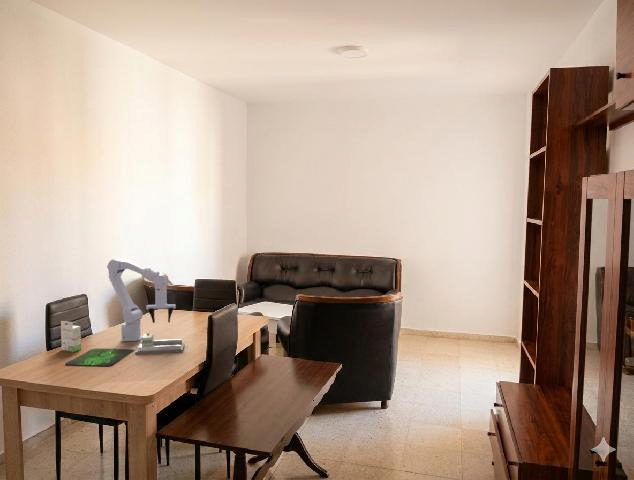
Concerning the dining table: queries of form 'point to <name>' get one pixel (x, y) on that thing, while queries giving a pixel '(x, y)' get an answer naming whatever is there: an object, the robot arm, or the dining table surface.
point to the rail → (158, 342)
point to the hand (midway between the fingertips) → (161, 322)
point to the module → (147, 339)
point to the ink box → (70, 336)
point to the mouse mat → (100, 357)
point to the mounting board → (161, 350)
